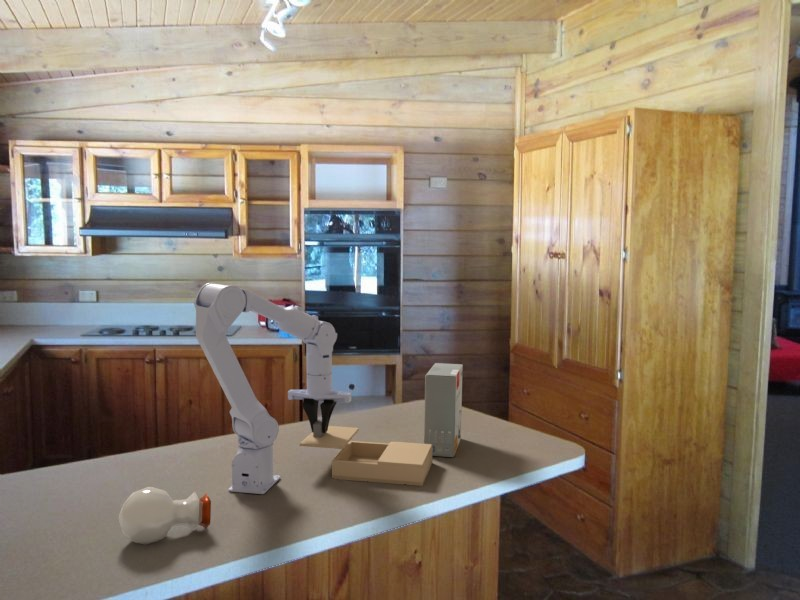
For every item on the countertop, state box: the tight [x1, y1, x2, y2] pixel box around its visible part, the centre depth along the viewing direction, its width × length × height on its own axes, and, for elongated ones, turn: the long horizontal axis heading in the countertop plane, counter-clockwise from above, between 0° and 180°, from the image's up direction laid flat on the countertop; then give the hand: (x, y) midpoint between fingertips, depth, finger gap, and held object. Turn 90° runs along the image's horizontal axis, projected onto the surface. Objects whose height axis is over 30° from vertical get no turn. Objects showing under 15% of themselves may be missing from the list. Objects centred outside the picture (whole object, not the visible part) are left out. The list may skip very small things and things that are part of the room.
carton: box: [331, 440, 433, 487], centre depth 149 cm, size 14×20×5 cm
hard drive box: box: [423, 362, 464, 458], centre depth 164 cm, size 16×8×20 cm, turn 168°
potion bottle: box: [117, 486, 212, 546], centre depth 116 cm, size 9×10×15 cm
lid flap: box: [299, 418, 360, 450], centre depth 150 cm, size 14×10×4 cm
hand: (319, 431), depth 151 cm, fingers closed on lid flap, 2 cm apart
